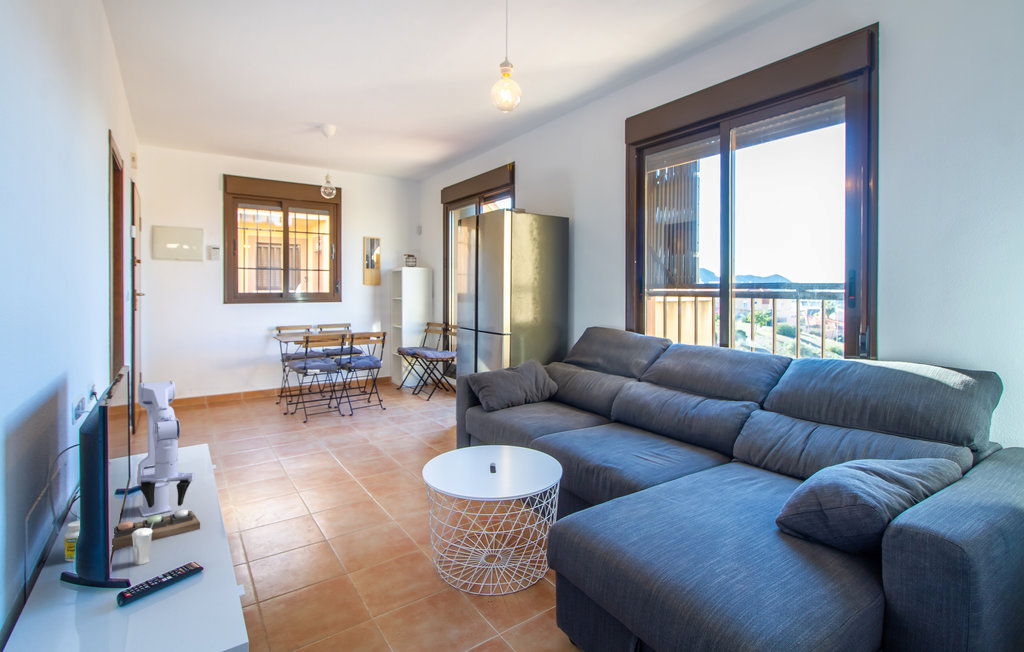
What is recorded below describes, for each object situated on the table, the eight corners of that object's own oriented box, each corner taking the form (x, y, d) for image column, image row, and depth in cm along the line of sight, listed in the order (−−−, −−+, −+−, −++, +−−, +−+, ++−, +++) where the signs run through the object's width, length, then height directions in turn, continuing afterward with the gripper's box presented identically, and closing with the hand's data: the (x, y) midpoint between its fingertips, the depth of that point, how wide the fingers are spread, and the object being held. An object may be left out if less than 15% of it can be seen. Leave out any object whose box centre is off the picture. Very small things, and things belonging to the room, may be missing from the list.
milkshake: (159, 558, 138) (159, 522, 138) (139, 567, 133) (139, 530, 133) (147, 555, 140) (147, 520, 140) (127, 564, 135) (127, 527, 134)
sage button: (146, 522, 154) (146, 516, 154) (160, 518, 156) (160, 513, 156) (148, 525, 151) (148, 520, 151) (162, 522, 154) (162, 517, 154)
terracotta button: (117, 528, 149) (117, 523, 149) (132, 525, 151) (132, 519, 151) (118, 532, 146) (118, 527, 146) (134, 529, 149) (134, 523, 149)
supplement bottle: (91, 550, 142) (91, 517, 141) (88, 559, 137) (88, 524, 137) (66, 555, 139) (66, 521, 138) (62, 564, 134) (62, 528, 134)
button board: (106, 535, 151) (106, 524, 151) (191, 516, 166) (191, 506, 166) (110, 550, 142) (110, 538, 142) (200, 528, 157) (200, 517, 157)
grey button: (173, 516, 159) (173, 511, 159) (186, 513, 161) (186, 508, 161) (175, 519, 156) (175, 514, 156) (189, 516, 158) (189, 511, 158)
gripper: (131, 466, 144) (131, 512, 145) (188, 463, 148) (188, 509, 149) (143, 458, 151) (142, 503, 152) (197, 456, 155) (196, 500, 155)
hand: (165, 505), depth 151 cm, fingers open, 7 cm apart
